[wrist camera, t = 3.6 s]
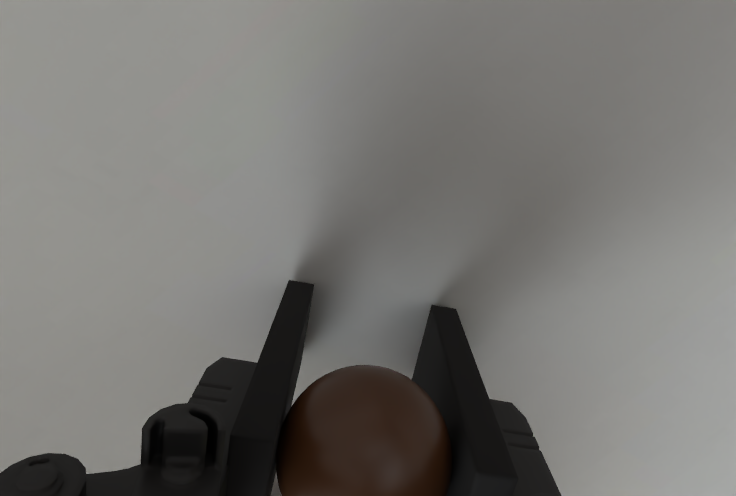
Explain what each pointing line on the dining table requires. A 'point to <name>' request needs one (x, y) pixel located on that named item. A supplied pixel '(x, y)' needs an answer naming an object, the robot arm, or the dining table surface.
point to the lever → (364, 438)
